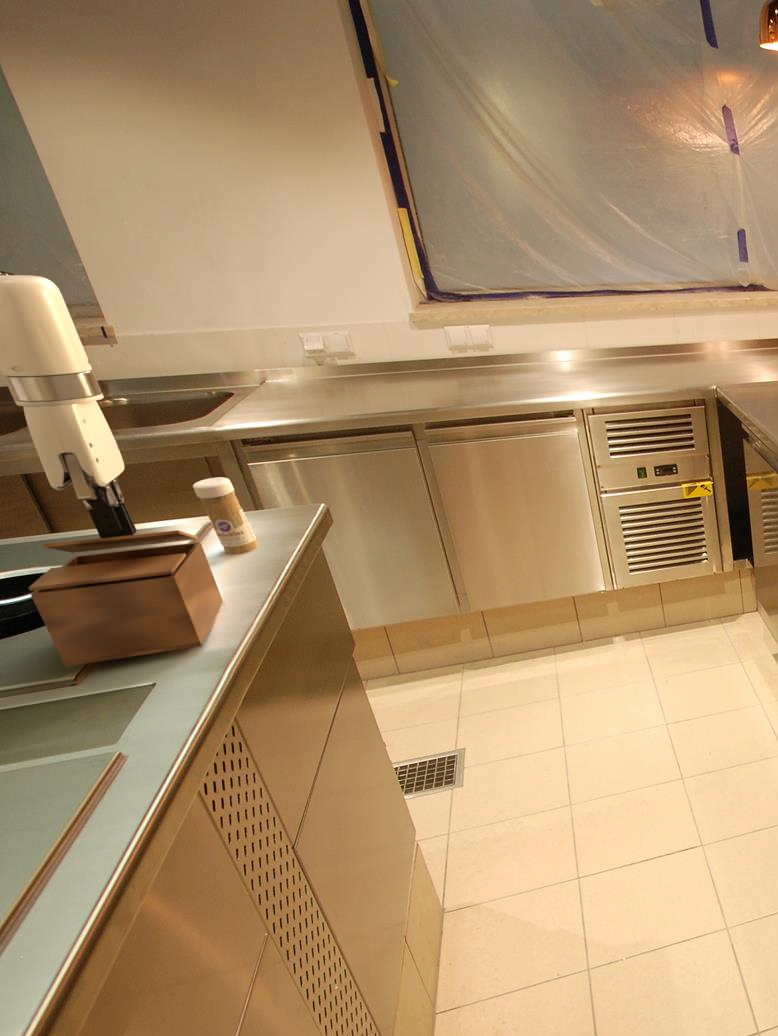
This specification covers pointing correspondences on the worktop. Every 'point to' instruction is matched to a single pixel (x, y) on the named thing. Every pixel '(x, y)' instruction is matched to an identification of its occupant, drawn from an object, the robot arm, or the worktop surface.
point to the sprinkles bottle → (226, 515)
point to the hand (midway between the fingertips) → (119, 535)
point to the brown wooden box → (128, 602)
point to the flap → (121, 541)
